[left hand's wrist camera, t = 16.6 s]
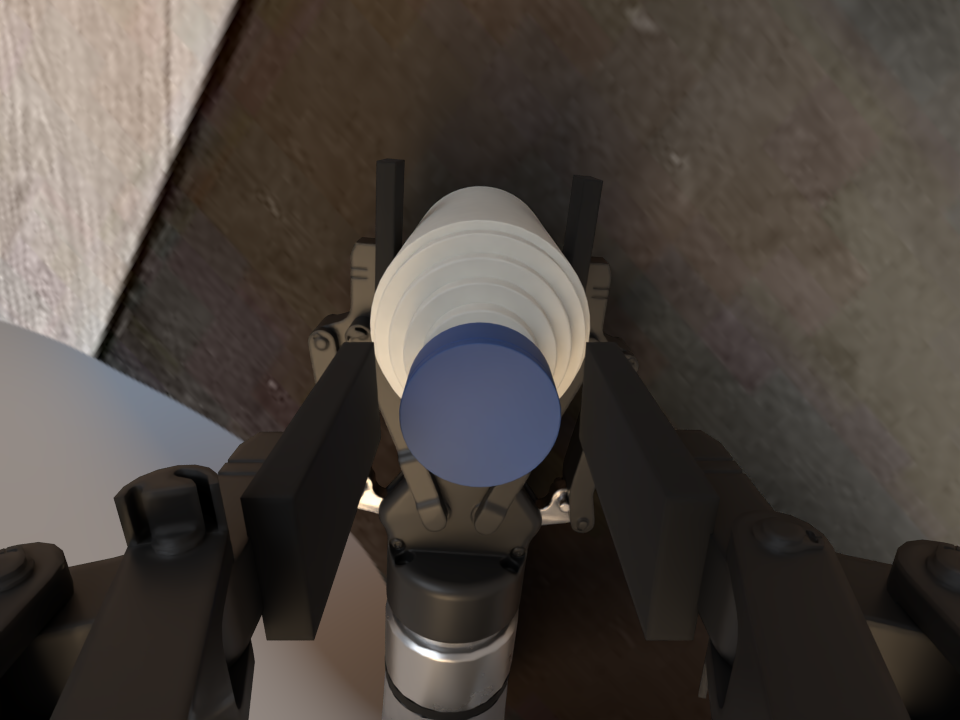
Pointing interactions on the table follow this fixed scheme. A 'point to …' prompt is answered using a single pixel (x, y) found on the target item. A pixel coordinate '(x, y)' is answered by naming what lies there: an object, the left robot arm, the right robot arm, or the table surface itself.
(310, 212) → the table surface
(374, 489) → the right robot arm
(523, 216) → the bottle
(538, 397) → the cap
